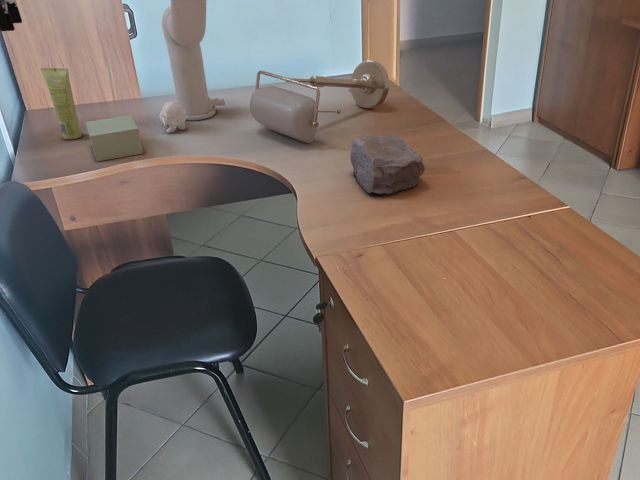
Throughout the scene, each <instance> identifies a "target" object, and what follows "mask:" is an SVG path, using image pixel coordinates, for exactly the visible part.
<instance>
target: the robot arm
mask: <svg viewBox="0 0 640 480" xmlns="http://www.w3.org/2000/svg"><path fill="white" fill-rule="evenodd" d="M22 23H23V20H22V16H21V12H20V10H19V7H18V4H17V0H0V32H14V31H15V25H14V24H22ZM206 23H207V0H170V6H168V7H167V8H165V10H164V11H163V13H162V17H161V28H162V32H163V36H164V40H165V43H166V48H167V53H168V57H169V63H170V70H171V74H172V81H173V85H174V92H175V96H176V103H178V104H180V105H181V106H182V108H183V110H184V111H185V112H186V121H199V120H200V121H201V120H206V119H208V118H212V117H213V116H214V115H216V112H217V111H216V107H218V106H219V107H220V106H225V105H226V101H225V99H224V98H220V99H219V98H218V97H216V98H210V96H209V91H208V85H207V80H206V79H207V78H206V72H205V66H204V60H203V59H204V58H203V52H202V47H201V42H203V39H204V37H205V34H206V29H207V28H206V27H207V24H206Z"/></svg>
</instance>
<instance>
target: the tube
mask: <svg viewBox="0 0 640 480" xmlns="http://www.w3.org/2000/svg"><path fill="white" fill-rule="evenodd" d="M40 71H41V73H42V77H43V79H44V83H45V84H46V88H47V90H48V93H49V96H50V99H51V102H52V106H53V108H54V112H55V114H56V119H57V121H58V124H59V128H60V131H61V134H62V135H61V136H62V137H63V139H65V140H76V139H79V138H81V137H82V131H81V127H80V122H79V118H78V113H77V109H76V105H75V100H74V95H73V91H72V90H73V89H72V86H71V81H70V73H69V69H68V67H40Z"/></svg>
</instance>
